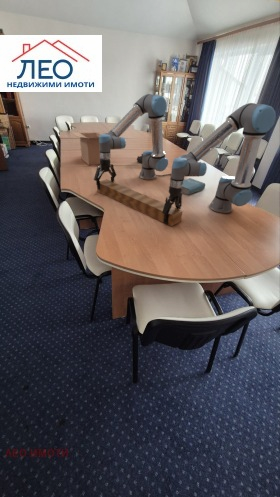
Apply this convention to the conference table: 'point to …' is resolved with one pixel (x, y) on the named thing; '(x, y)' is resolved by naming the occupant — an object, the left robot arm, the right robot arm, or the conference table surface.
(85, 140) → the box
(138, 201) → the long wooden beam
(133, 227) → the conference table surface
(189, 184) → the book
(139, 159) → the laser sight
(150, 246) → the conference table surface
